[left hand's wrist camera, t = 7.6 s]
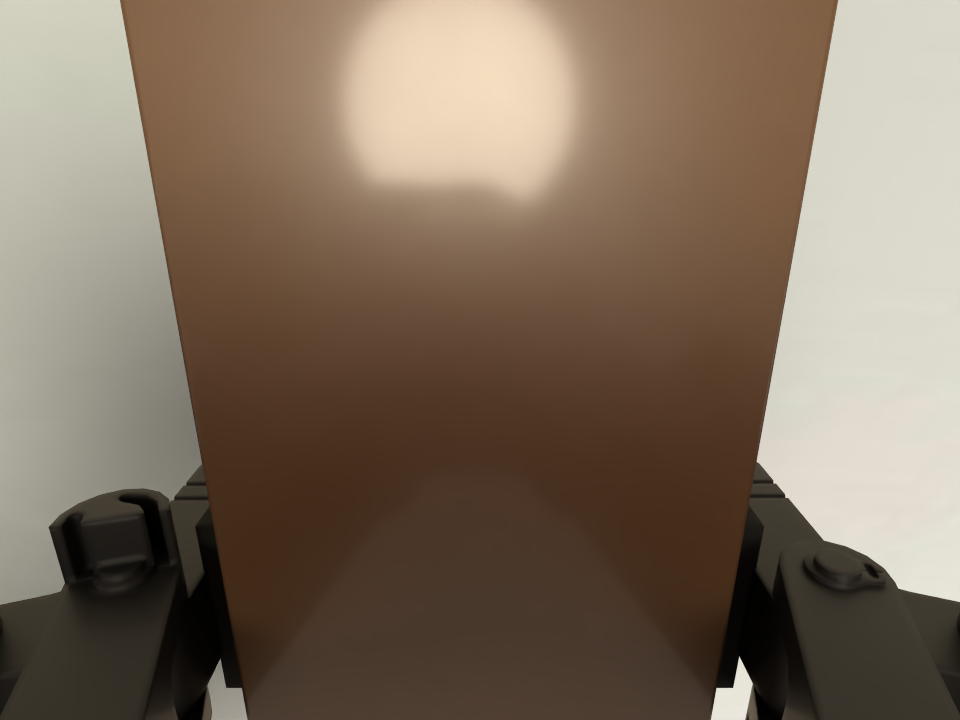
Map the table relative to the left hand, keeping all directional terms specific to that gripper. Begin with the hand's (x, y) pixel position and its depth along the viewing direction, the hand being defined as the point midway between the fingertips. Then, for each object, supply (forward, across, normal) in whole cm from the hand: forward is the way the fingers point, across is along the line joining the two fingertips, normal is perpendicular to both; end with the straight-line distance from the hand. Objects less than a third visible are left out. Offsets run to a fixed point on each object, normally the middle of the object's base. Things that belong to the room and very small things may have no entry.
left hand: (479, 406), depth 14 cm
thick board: (+1, 0, -21) cm, 21 cm away
